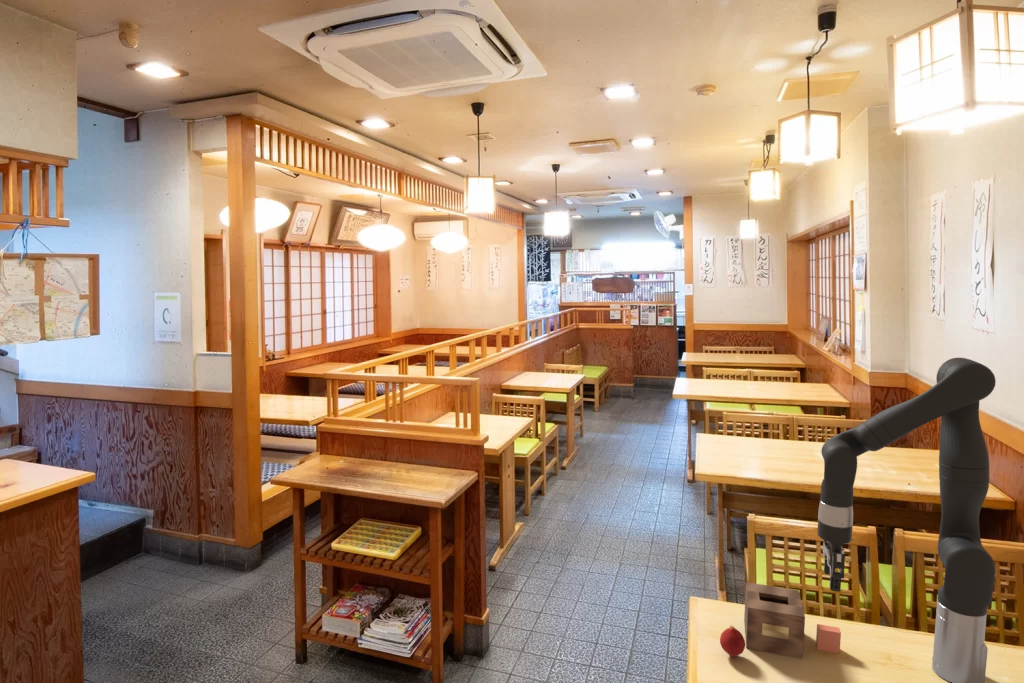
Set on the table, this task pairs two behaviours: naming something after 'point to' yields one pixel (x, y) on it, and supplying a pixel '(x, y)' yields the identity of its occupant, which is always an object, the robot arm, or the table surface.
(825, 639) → the tall salmon pink box
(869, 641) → the table surface
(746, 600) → the box
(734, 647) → the red pomegranate
